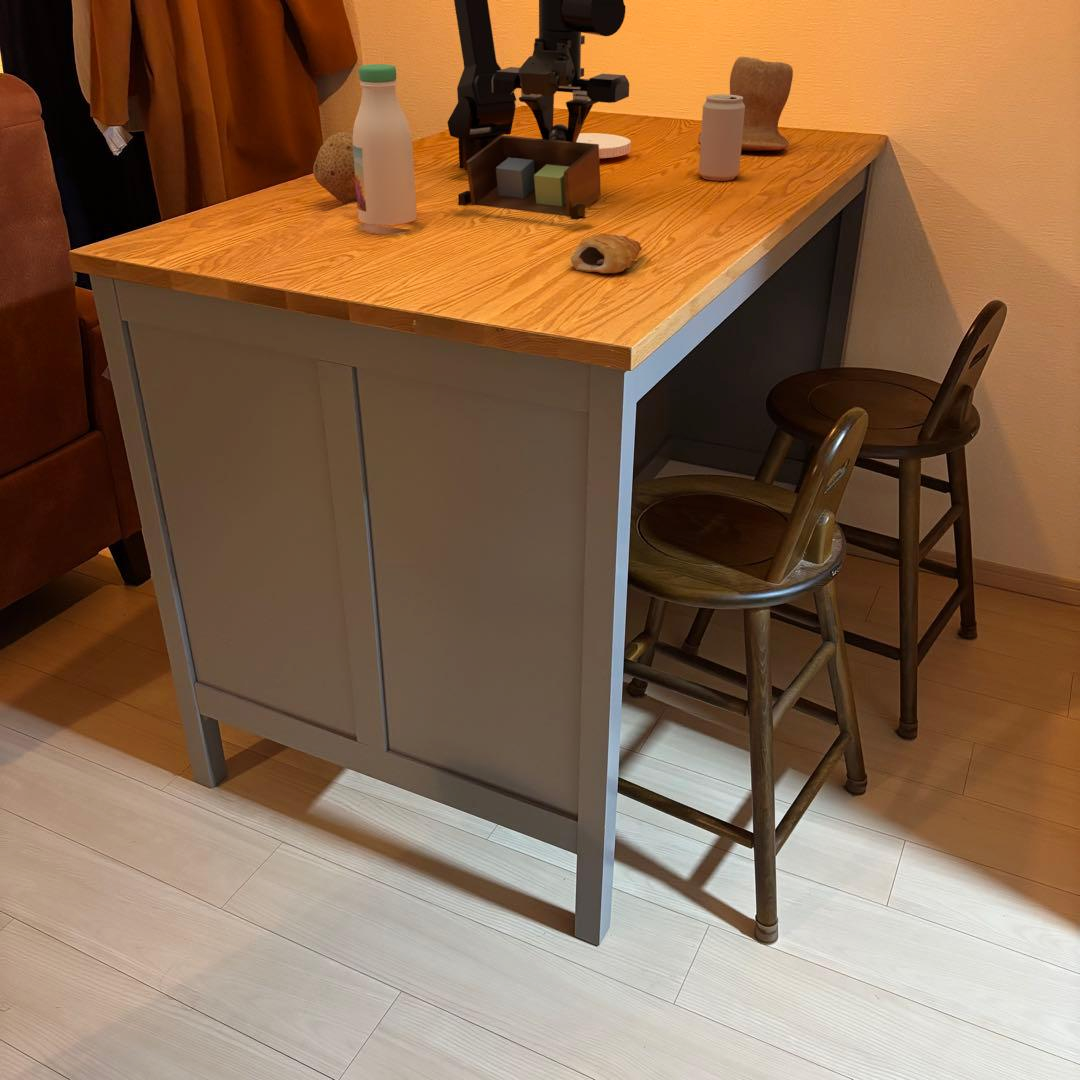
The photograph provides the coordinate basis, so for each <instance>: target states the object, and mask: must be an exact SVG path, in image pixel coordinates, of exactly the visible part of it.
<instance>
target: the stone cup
mask: <svg viewBox="0 0 1080 1080" xmlns="http://www.w3.org/2000/svg"><path fill="white" fill-rule="evenodd" d="M793 78H794V69H793V67H792V65H791V64H789V63H787V62H781V61H766V60H761V59H759V58H756V57H750V56H749V57H748V56H738V57H737V58H736V60H735V61H734V63H733V65H732V68H731V71H730V76H729V95H737V96H742V97H743V100H742V101H743V103H744V105H745V113H744V124H743V135H742V147H741V152H743V151H744V152H762V151H763V152H764V151H779V150H783V149H786V148H787V147H788V146H789V140H788V139H787V138H786V137H785V136H783V135H781V134H780V132H779V128H778V127H779V121H780V117H781V115H782V113H783V110H784V108H785V106H786V104H787V102H788V99H789V96H790V93H791V87H792V83H793ZM697 137H698V139H697V143H698V145H700V143H701V131H700V132H699V134H698V136H697Z"/></svg>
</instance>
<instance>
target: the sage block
mask: <svg viewBox="0 0 1080 1080" xmlns="http://www.w3.org/2000/svg"><path fill="white" fill-rule="evenodd" d="M568 168H569V167H568V166H558V165H549V164H546V165H545V166H544V167H543V168H542V169H540V170H539V171H538V172H537V173H536V174H535V175H534V182H535V194H536V203H537V204H545V205H553V206H563V205H565V204H566V199H565V184H564V171H565V170H567V169H568Z"/></svg>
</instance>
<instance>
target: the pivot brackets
mask: <svg viewBox="0 0 1080 1080" xmlns="http://www.w3.org/2000/svg"><path fill="white" fill-rule="evenodd" d="M457 196H458V202H457V204H458V206H468V205H469V204H471V197H470V190H466V191H463V192H460V193H458V194H457ZM570 219H571V220H575V221H577V220H580V219H581V220H582V219H583V220H585V219H587V216H586V209H585V205H583V204H578V205H576V206H574V207H572V208H571V217H570Z"/></svg>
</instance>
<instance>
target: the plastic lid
mask: <svg viewBox="0 0 1080 1080" xmlns="http://www.w3.org/2000/svg"><path fill="white" fill-rule="evenodd" d="M576 142H579V143H590V144H599V159H608V158H617V157H621V156H625V155H627V154H630V152H631V145H632V141H631V139H630V138H628V137H626V136H621V135H618V134H617V135H616V134H610V133H597V132H595V133H594V132H580V134H579V136H578V139H577V141H576Z"/></svg>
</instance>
